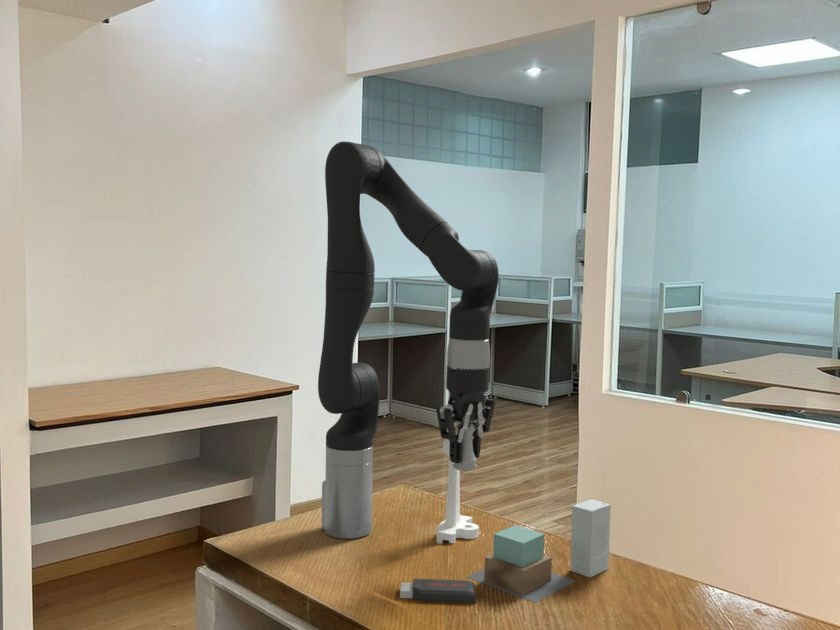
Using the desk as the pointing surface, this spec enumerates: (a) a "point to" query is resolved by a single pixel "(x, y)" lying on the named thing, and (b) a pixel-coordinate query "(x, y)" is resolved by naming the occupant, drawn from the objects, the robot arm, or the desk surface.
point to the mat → (534, 595)
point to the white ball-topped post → (454, 509)
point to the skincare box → (590, 537)
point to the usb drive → (439, 590)
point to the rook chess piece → (467, 451)
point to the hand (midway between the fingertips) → (464, 459)
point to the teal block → (518, 546)
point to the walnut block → (518, 574)
